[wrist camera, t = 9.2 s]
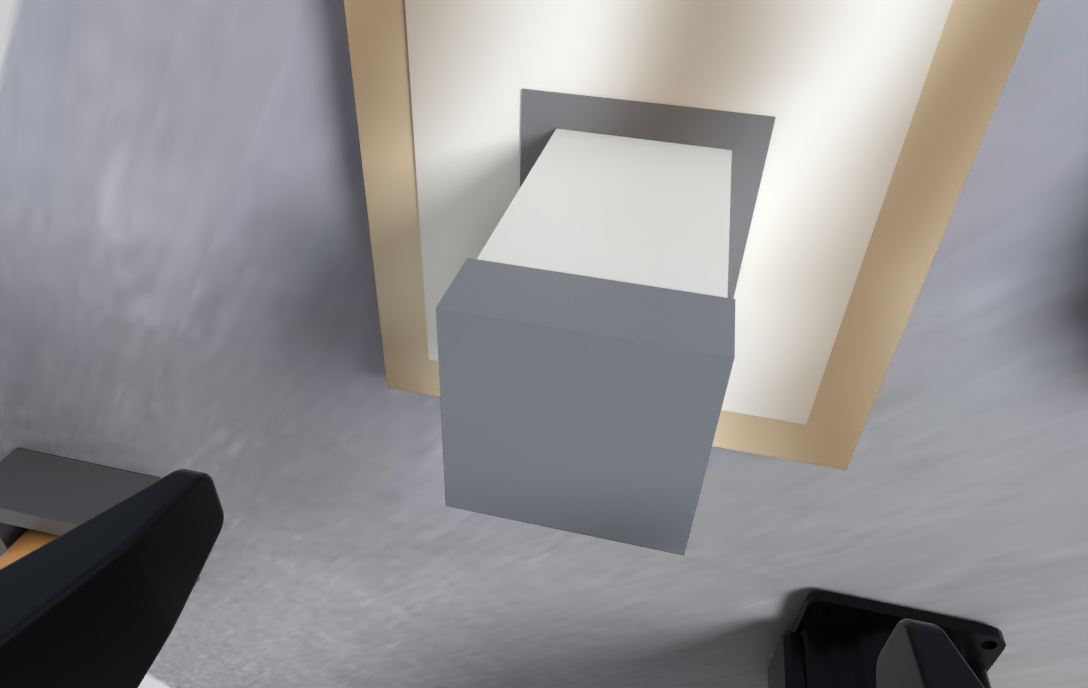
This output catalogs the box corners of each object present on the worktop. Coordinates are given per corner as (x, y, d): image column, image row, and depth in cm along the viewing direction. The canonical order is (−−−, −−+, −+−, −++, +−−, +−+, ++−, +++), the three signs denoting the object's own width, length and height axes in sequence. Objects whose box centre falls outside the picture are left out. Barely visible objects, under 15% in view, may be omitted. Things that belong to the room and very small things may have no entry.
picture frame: (1056, -104, 13) (1083, -98, 12) (841, 441, 22) (847, 473, 21) (352, -148, 16) (323, -147, 14) (401, 364, 24) (385, 390, 23)
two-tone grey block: (737, 146, 16) (734, 357, 10) (703, 304, 18) (684, 555, 12) (552, 123, 17) (435, 307, 10) (544, 279, 19) (446, 506, 13)
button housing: (159, 478, 31) (110, 533, 28) (199, 579, 35) (159, 634, 32) (16, 447, 32) (-43, 498, 29) (71, 549, 36) (24, 601, 33)
